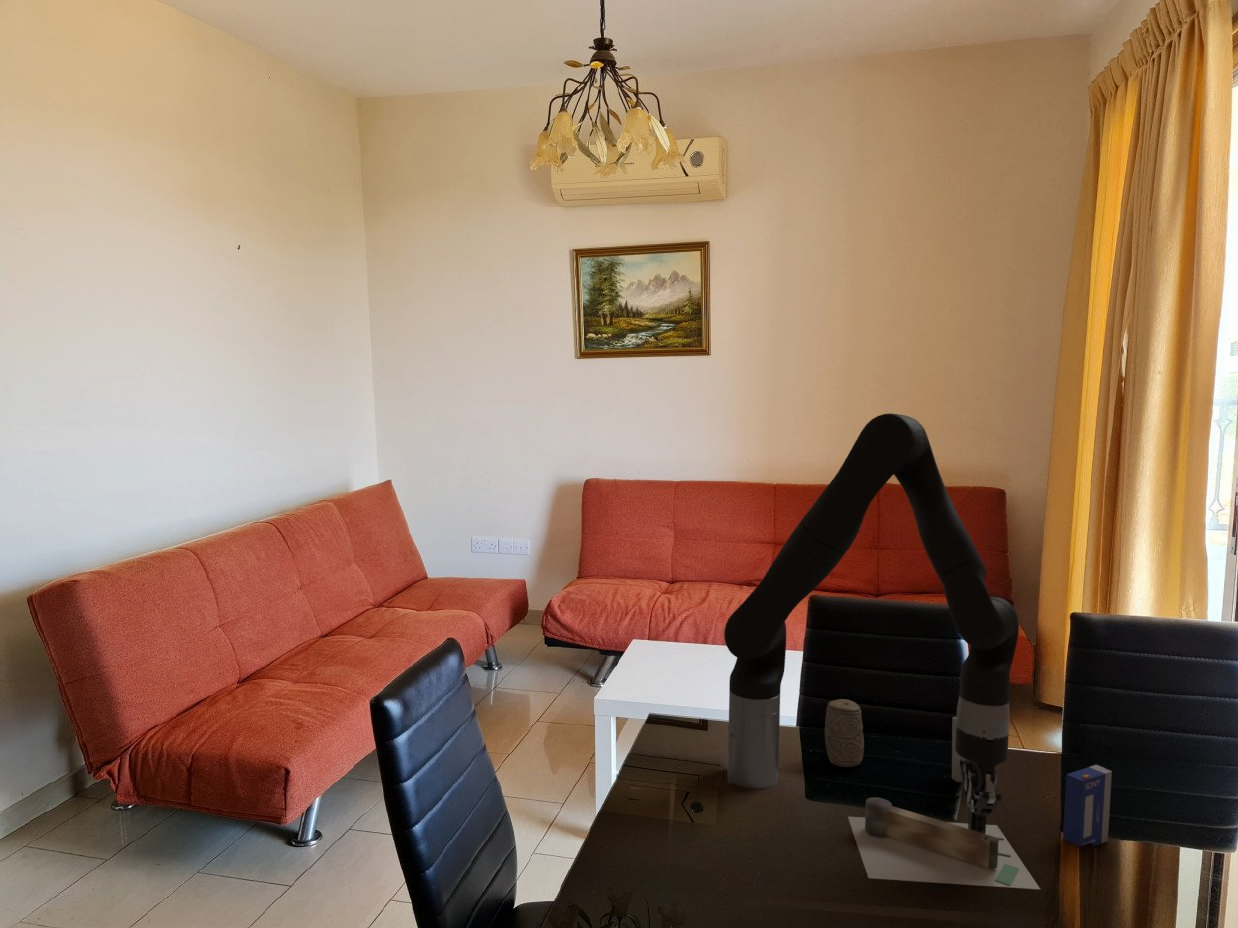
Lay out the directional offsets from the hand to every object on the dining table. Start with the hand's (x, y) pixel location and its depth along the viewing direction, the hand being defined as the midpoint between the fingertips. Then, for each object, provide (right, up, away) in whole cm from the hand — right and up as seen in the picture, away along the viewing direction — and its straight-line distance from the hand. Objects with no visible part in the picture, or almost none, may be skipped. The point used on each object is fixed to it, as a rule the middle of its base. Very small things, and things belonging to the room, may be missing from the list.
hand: (976, 832), depth 132 cm
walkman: (+19, -3, +3) cm, 19 cm away
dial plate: (-7, -3, -2) cm, 8 cm away
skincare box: (+9, -1, +23) cm, 24 cm away
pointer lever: (-8, -2, -1) cm, 8 cm away
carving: (-13, 0, +31) cm, 33 cm away
